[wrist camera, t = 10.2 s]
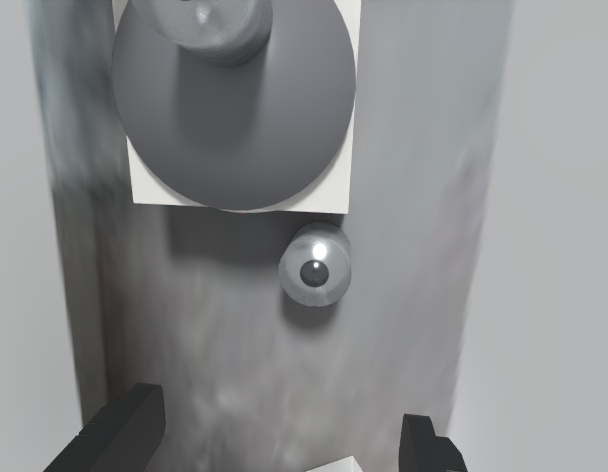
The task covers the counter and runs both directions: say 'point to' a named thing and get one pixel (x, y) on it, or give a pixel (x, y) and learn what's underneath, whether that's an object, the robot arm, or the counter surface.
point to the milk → (340, 466)
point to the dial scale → (242, 113)
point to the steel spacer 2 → (316, 265)
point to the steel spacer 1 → (212, 26)
